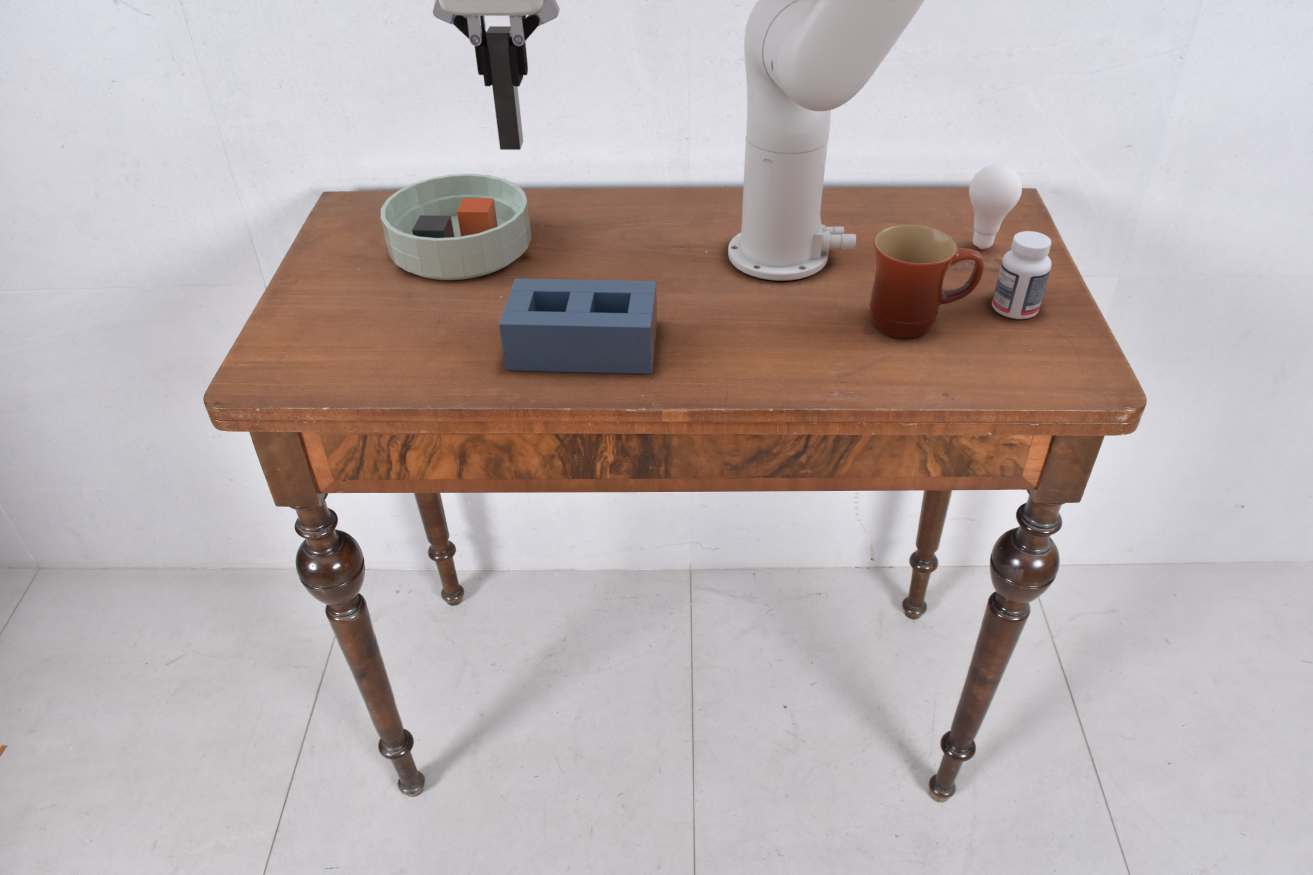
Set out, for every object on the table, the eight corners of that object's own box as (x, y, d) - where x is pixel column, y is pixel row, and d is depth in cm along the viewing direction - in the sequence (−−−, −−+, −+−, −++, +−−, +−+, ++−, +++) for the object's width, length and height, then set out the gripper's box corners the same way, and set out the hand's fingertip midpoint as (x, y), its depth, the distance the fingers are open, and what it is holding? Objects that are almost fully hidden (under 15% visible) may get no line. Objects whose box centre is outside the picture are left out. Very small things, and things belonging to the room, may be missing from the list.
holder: (520, 323, 107) (514, 278, 103) (657, 326, 106) (656, 280, 102) (505, 370, 100) (498, 324, 96) (651, 374, 99) (650, 327, 95)
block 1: (455, 243, 120) (450, 215, 117) (448, 259, 117) (443, 230, 114) (425, 243, 120) (419, 215, 118) (417, 258, 117) (411, 230, 114)
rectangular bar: (523, 141, 101) (511, 26, 93) (520, 150, 99) (507, 33, 91) (503, 141, 101) (489, 26, 93) (500, 149, 99) (485, 33, 92)
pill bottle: (1039, 300, 109) (1059, 231, 103) (1037, 323, 105) (1058, 254, 99) (992, 292, 110) (1009, 225, 104) (989, 316, 106) (1007, 247, 101)
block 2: (497, 226, 123) (493, 198, 121) (491, 240, 120) (487, 212, 118) (468, 225, 124) (463, 197, 121) (461, 240, 121) (456, 211, 118)
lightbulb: (953, 255, 117) (971, 173, 110) (960, 233, 121) (978, 153, 114) (1003, 263, 115) (1024, 180, 108) (1008, 241, 119) (1029, 160, 112)
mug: (864, 344, 102) (877, 262, 96) (858, 302, 109) (870, 223, 102) (975, 349, 101) (995, 267, 95) (963, 306, 108) (981, 226, 101)
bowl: (541, 215, 127) (537, 174, 123) (517, 285, 113) (512, 241, 109) (411, 213, 128) (403, 172, 124) (372, 282, 114) (361, 239, 110)
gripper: (382, -115, 81) (419, 95, 93) (564, -116, 81) (577, 96, 93) (403, -131, 87) (435, 69, 99) (573, -131, 86) (585, 70, 98)
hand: (504, 80), depth 96 cm, fingers closed on rectangular bar, 2 cm apart
